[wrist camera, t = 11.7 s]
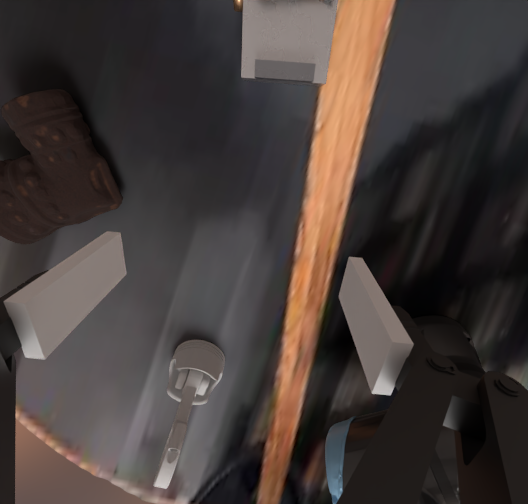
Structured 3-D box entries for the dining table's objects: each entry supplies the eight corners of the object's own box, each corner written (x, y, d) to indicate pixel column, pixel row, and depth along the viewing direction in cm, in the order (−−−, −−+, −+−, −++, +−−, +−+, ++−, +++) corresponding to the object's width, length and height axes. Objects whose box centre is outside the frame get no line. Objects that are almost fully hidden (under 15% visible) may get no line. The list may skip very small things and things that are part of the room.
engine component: (231, 348, 53) (181, 333, 52) (209, 472, 35) (131, 453, 34) (215, 383, 58) (168, 369, 57) (188, 507, 40) (118, 492, 38)
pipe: (39, 81, 27) (-101, 135, 27) (124, 216, 34) (13, 257, 35) (81, 88, 36) (-26, 128, 36) (142, 194, 43) (52, 228, 43)
